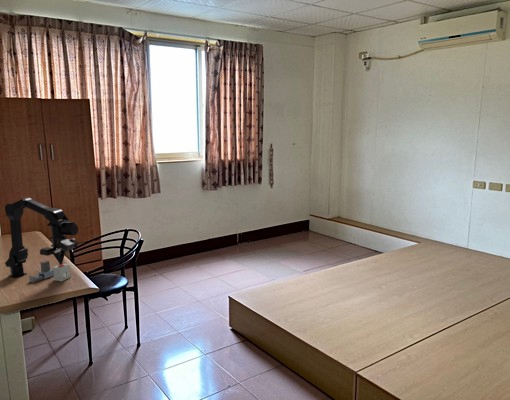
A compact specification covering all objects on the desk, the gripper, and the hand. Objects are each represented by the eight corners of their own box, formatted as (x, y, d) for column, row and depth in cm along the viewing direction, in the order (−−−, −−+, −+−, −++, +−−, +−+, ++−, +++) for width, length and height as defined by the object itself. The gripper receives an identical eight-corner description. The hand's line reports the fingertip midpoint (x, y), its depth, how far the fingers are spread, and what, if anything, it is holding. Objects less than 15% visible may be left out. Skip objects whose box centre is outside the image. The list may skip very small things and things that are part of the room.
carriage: (38, 277, 227) (37, 262, 225) (47, 274, 231) (45, 259, 230) (45, 278, 224) (43, 263, 223) (53, 275, 229) (52, 260, 227)
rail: (29, 281, 221) (29, 276, 220) (51, 273, 232) (51, 268, 232) (33, 282, 219) (33, 277, 219) (55, 274, 231) (55, 269, 230)
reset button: (58, 270, 223) (58, 264, 222) (62, 269, 225) (61, 263, 224) (61, 271, 222) (60, 264, 222) (64, 270, 224) (64, 263, 223)
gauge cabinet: (54, 280, 223) (52, 267, 222) (64, 276, 228) (62, 263, 227) (61, 281, 220) (60, 268, 219) (71, 277, 226) (70, 264, 224)
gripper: (53, 240, 208) (56, 271, 211) (83, 231, 225) (86, 260, 227) (37, 238, 213) (40, 268, 216) (68, 229, 230) (71, 258, 232)
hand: (60, 263), depth 223 cm, fingers closed, pressing on reset button
